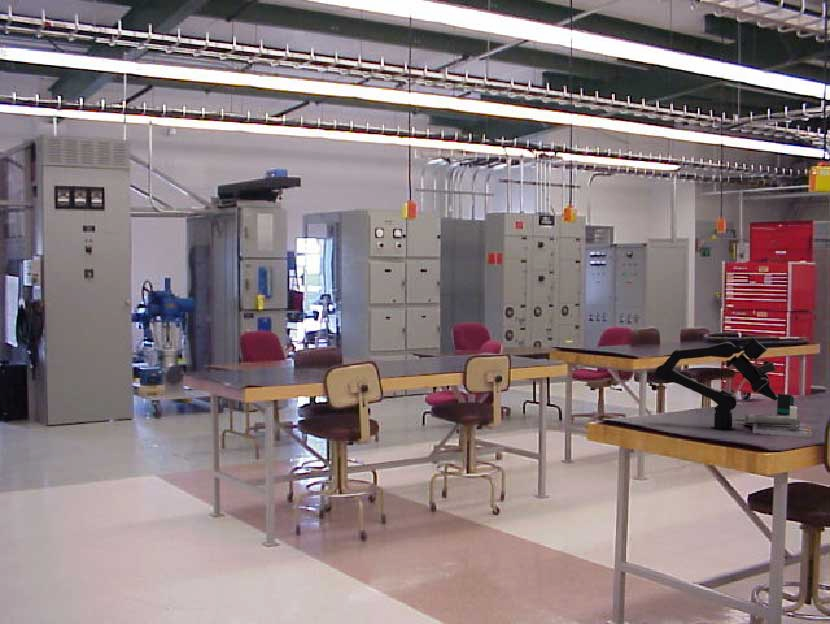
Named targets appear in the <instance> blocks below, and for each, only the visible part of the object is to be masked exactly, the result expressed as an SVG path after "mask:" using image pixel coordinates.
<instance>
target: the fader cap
mask: <svg viewBox="0 0 830 624" xmlns="http://www.w3.org/2000/svg"><path fill="white" fill-rule="evenodd" d="M797 416H798V407H797V406H794V407H792V406H790V419H791V425H790V428H791V429H794V430H795V428H796V425H795V421H796V419H797Z"/></svg>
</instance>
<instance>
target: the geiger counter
mask: <svg viewBox="0 0 830 624" xmlns="http://www.w3.org/2000/svg"><path fill="white" fill-rule="evenodd" d="M754 423H757V425H761V426H791V419H790V416H779V414H778V416H777V415H774V414H773V415H772V412H770V414H769V413H767V414H766V415H765V414H760V415H759V414H745V415H744V416H743V417H737V418H732V424H738V425H744V426H752V427H753V424H754ZM801 423H802V417H801V416H800V415H797V419H796V421H795V426H797V428H801Z"/></svg>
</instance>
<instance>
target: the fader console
mask: <svg viewBox="0 0 830 624" xmlns="http://www.w3.org/2000/svg"><path fill="white" fill-rule="evenodd" d="M752 425H753V426H752V434H755V433H760V434H761V435H768V434H769V436H784V437H794V438H795V437H797V438H808V439H811V438H812V437H813V433H812V432H813V431H812V428H811V427H810V426H807V428H802V427H799V428H798V427H795V430H794V429H791V427H789V426H788V427H787V426H775V425H760V424H757V423H754V424H752ZM760 434H759V435H760Z"/></svg>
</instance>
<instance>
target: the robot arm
mask: <svg viewBox="0 0 830 624" xmlns="http://www.w3.org/2000/svg"><path fill="white" fill-rule="evenodd" d="M742 351H743V352H742ZM767 351H768V349H766V347H765V346H764V345H763V344H762V343H760V342H759V341H758V340H757V339H756V338H754V337H752V338H751V339H750V340H748V342H746V344H745V345H744V346H741V345H740V346H739V345H735V344H734V343H733V342H731V341H725V342H721V343H717V344H714V345H710V346H705V347H704V346H703V347H695V348H693V347H692V348H686V349H675V350H674V351H672V353H671V354H670V356H669V357H668V358H667V359H666V361H665V362H664V363H663V364H660V365H659V366H657V367H656V369H655V377H657V379H659V380H661V381H665V382H668V383H674V384H678V385H680V386H682V387H683V388H686V389H688V390H691V391H693V392H695V393H697V394H700V395H701V396H704V397H706V398H707V399H710V400H711V401H713V402H714V403H715V404H716V405H715V407H714V419H713V420H714V422H713V424H714V425H712V426H710V428H711V429H717V430H722V431H728V430H735V429H736V427H733V422H732V419H733V412H731V411H733V410H734V409H735V408H736V407H737V405H738V398H737V396H736V395H735V394H734V391H729V390H728V389H726V388H724V387H722V388H721V390H718V389H714V388H712V387H710V386H708V385H706V384H704V383H702V382H700V381H698V380H694V378H691V377H688V376H686V375H684V374H683V373H681V372H680V371H678V370H677V369H675V367H676V365H677V364H678V363H679V362H680V361H681V360H688V359H696V358H697V359H698V358H708V357H713V358H724V359H725V358H728V359H727V360H726V361H725V363H726V368H730V367H731V366H732V367H733V368H734V369H735V370H736V371H737V372H738V373H739V374H740V376H741V377H742V378H744V379H745V381H747V382H748V383H749V384H750V386H751V391H753V392H754V393H758V394H761V395H762V396H764V397H766V398H768V399H770V400H774V401H776V402H777V399H778V397H777V396H778V395H776V393H775V391H774V390H773V388H772V387H771V385H770V384H771V383H770V382H771V381H770V377H769V375H768V373H771V372H774V371H776V370H777V368H776V366H775V364H774V362H773V361H768V360H765V361H763V363H762V365H760V366H757V365H756V364H753V363H752V362H751V361H752V360H754V361H756V360H757V359H759V358H760V357H761V356H763V354H764V353H765V352H767ZM741 352H742V353H741ZM740 353H741V354H740ZM736 354H740V355H738V356H737V355H736ZM733 355H734V356H733ZM731 357H732V358H731ZM729 358H731V359H729ZM750 360H751V361H750Z"/></svg>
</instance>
